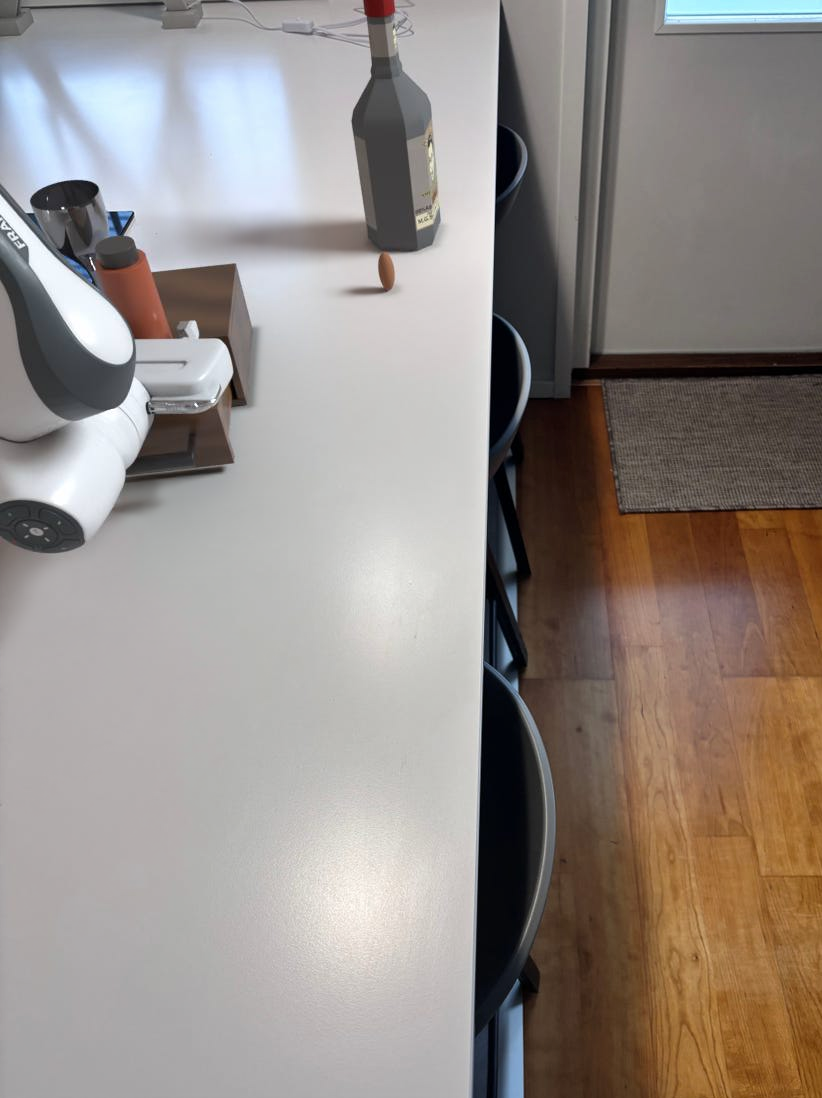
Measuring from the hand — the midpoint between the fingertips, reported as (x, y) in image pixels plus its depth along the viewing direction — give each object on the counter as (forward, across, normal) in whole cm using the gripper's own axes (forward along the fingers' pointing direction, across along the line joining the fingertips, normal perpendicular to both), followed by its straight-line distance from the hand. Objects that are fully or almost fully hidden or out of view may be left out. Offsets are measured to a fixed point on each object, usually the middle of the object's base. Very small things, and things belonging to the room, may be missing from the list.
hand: (143, 327), depth 97 cm
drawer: (-2, 0, +12) cm, 13 cm away
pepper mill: (0, 0, +11) cm, 11 cm away
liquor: (+45, -20, +14) cm, 51 cm away
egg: (+30, -19, +14) cm, 38 cm away
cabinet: (+12, +2, +13) cm, 18 cm away
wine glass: (+26, +17, +14) cm, 34 cm away
